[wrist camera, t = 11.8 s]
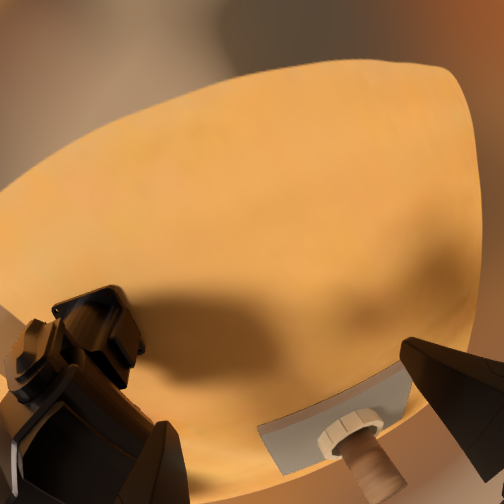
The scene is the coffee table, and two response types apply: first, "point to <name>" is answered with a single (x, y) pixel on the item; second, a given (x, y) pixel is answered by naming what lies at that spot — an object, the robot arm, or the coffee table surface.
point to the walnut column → (371, 466)
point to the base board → (337, 420)
